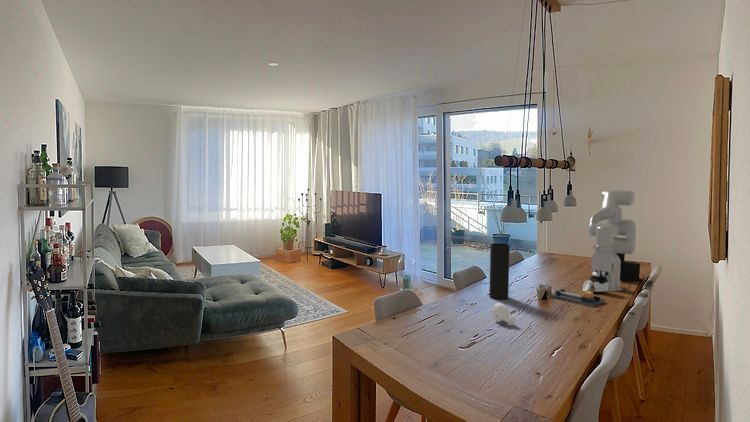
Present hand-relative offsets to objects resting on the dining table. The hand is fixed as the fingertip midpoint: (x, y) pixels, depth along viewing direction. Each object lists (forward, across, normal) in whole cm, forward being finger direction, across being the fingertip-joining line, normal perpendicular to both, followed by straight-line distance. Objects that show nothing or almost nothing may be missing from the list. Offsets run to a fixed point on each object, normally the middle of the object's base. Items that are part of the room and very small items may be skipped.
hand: (602, 283), depth 241 cm
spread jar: (+13, -15, +23) cm, 30 cm away
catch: (+10, -8, -1) cm, 13 cm away
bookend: (+15, -20, +71) cm, 75 cm away
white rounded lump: (+10, -14, -66) cm, 68 cm away
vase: (+11, -43, -31) cm, 54 cm away
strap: (+10, -16, -1) cm, 19 cm away
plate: (+12, -13, -1) cm, 17 cm away
